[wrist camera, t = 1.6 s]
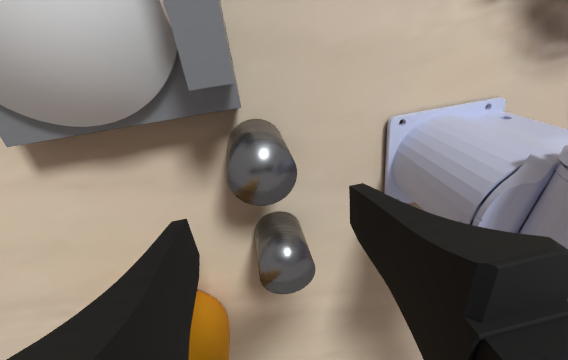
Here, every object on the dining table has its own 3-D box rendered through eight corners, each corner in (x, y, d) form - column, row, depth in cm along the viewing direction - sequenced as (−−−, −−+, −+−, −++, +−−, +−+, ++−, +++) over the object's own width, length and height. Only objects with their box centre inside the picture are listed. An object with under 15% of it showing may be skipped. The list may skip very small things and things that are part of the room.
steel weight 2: (297, 207, 24) (313, 246, 20) (302, 243, 26) (317, 287, 21) (250, 216, 24) (255, 258, 19) (258, 253, 25) (264, 299, 21)
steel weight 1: (279, 114, 20) (292, 137, 16) (286, 165, 22) (300, 198, 18) (222, 124, 20) (220, 150, 15) (234, 175, 22) (235, 211, 17)
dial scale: (188, -159, 13) (158, -299, 8) (239, 99, 19) (243, 127, 13) (-117, -133, 12) (-417, -276, 7) (34, 133, 18) (-57, 179, 12)
